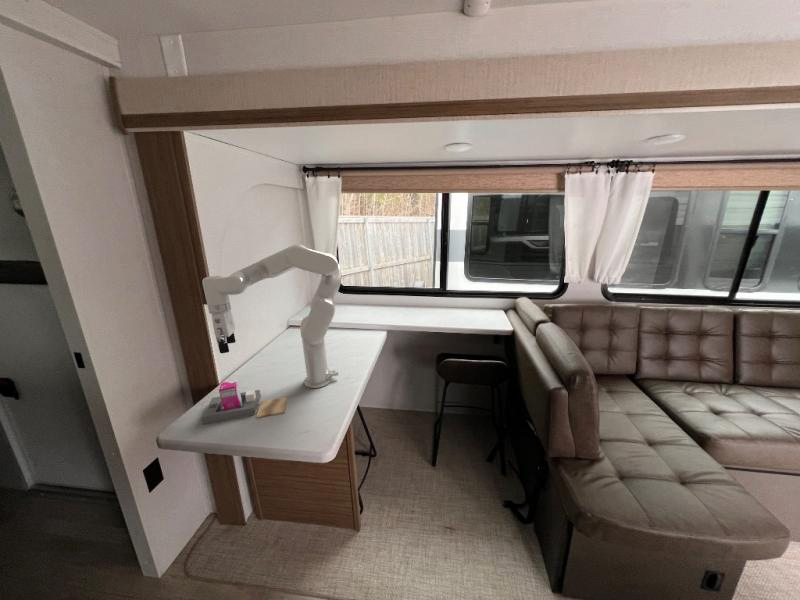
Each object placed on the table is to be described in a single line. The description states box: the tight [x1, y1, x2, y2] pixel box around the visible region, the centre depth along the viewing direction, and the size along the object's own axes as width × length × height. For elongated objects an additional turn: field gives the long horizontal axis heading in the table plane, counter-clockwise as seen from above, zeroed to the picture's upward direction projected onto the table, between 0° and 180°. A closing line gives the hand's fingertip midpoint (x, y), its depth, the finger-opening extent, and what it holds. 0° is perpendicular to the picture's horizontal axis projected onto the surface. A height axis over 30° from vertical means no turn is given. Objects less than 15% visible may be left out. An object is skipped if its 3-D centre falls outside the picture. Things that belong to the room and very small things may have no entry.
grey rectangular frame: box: [200, 389, 262, 425], centre depth 117 cm, size 18×13×6 cm
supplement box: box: [218, 378, 244, 411], centre depth 116 cm, size 6×6×12 cm
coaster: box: [256, 397, 287, 419], centre depth 118 cm, size 10×10×1 cm
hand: (228, 347), depth 120 cm, fingers open, 9 cm apart
